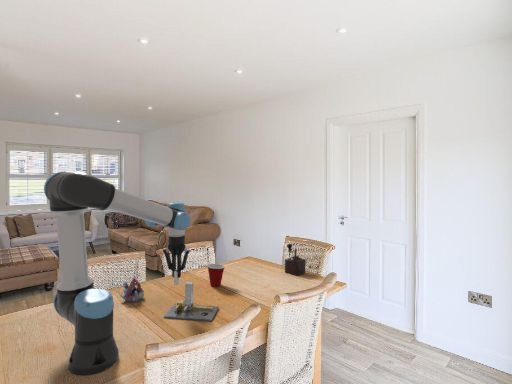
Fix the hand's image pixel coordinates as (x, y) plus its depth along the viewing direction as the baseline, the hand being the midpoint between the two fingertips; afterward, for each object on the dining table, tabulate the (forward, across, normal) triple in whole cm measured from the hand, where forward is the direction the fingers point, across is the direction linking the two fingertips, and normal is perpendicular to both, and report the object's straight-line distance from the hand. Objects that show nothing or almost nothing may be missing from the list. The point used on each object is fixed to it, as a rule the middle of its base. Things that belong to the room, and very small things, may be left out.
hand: (176, 283), depth 150 cm
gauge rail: (+12, -9, +3) cm, 15 cm away
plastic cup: (+13, -11, -35) cm, 39 cm away
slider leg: (+11, -6, +2) cm, 13 cm away
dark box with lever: (+14, -56, -70) cm, 91 cm away
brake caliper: (+13, +26, -8) cm, 30 cm away
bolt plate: (+12, -9, +3) cm, 15 cm away
